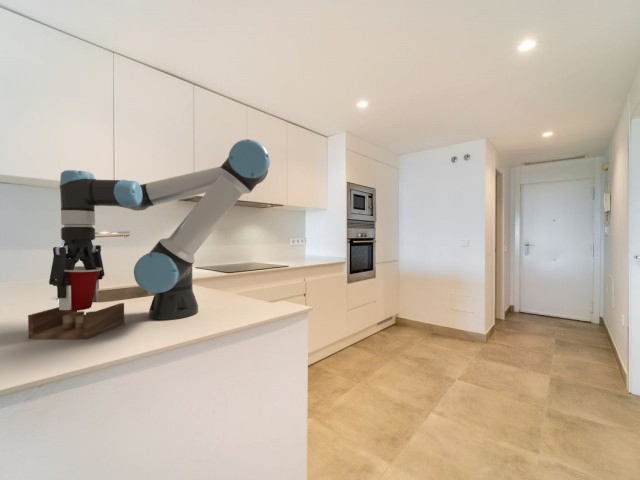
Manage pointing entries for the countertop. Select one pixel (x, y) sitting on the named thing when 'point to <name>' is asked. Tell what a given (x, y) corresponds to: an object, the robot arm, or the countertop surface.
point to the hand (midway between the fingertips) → (79, 305)
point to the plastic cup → (82, 287)
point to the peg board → (90, 323)
